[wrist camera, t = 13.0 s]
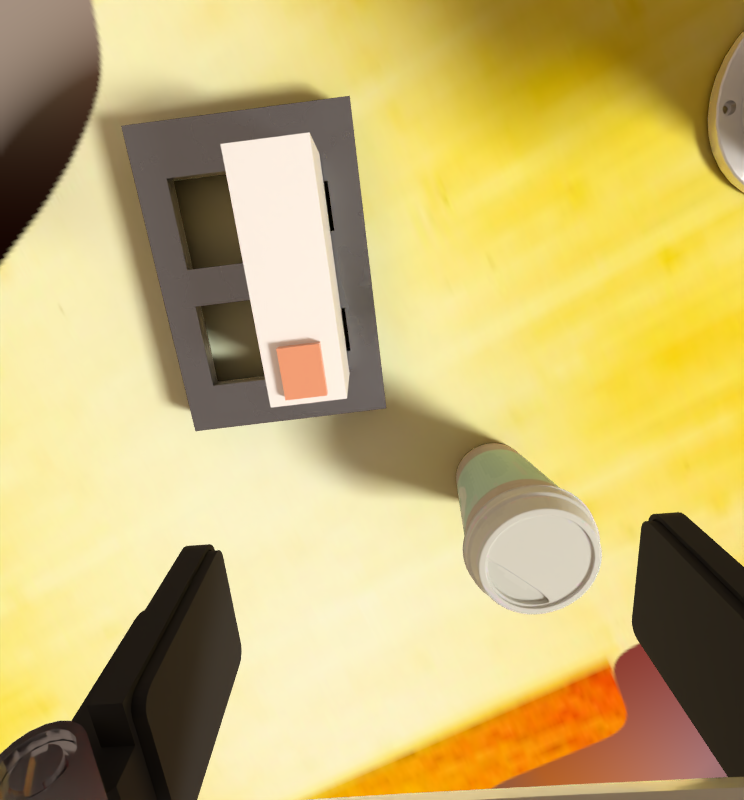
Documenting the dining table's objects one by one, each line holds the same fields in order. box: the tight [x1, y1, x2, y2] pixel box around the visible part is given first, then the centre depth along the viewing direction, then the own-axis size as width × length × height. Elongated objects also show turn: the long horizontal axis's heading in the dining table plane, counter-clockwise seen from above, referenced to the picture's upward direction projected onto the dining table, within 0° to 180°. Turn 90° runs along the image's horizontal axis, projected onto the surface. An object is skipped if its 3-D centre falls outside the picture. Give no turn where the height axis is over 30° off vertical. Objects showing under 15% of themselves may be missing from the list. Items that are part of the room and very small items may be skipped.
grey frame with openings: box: [121, 96, 386, 431], centre depth 34 cm, size 14×20×3 cm
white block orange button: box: [220, 133, 350, 408], centre depth 31 cm, size 4×14×10 cm, turn 7°
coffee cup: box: [456, 443, 602, 614], centre depth 35 cm, size 8×8×12 cm
